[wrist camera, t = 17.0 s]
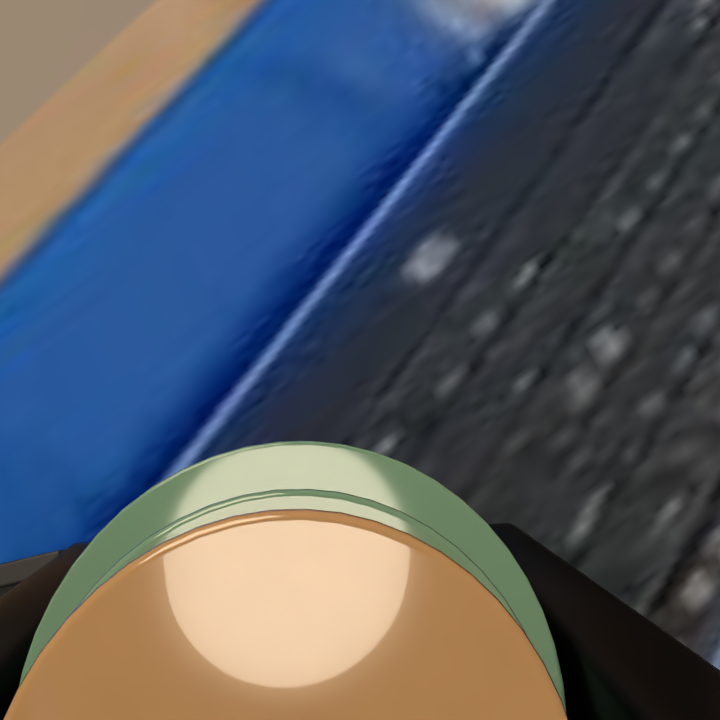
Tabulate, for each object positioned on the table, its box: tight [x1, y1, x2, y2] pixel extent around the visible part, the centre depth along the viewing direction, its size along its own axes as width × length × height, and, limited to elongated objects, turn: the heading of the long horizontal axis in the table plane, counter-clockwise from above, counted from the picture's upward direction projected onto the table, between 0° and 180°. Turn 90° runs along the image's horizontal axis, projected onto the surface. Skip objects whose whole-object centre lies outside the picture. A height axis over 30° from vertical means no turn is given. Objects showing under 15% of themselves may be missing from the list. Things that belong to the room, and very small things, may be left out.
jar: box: [3, 441, 568, 720], centre depth 9 cm, size 5×5×12 cm
